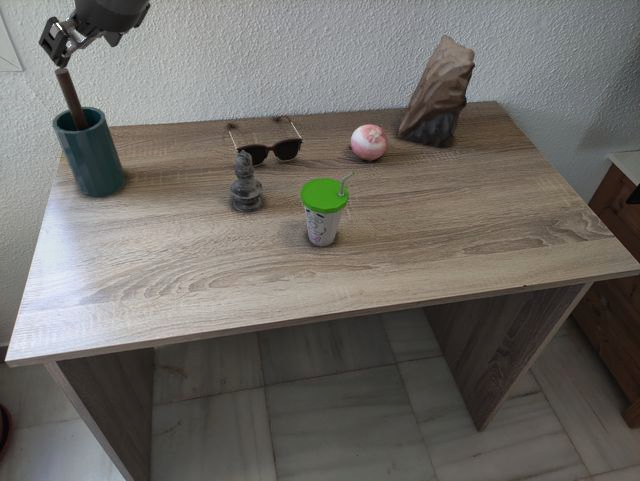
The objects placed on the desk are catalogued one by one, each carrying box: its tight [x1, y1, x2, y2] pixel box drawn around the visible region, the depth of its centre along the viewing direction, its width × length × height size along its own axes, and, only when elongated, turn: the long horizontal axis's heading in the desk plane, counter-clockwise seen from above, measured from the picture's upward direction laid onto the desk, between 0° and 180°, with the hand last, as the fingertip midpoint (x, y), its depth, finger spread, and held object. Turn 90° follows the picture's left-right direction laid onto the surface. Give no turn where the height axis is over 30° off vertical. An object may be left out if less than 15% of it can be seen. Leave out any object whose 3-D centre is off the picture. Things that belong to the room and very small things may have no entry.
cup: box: [299, 170, 355, 248], centre depth 77 cm, size 8×8×15 cm
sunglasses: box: [226, 114, 304, 167], centre depth 101 cm, size 14×16×5 cm
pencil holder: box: [51, 106, 126, 198], centre depth 85 cm, size 8×8×14 cm
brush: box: [54, 67, 89, 131], centre depth 82 cm, size 4×4×22 cm
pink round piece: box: [347, 124, 388, 163], centre depth 98 cm, size 8×8×7 cm
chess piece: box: [229, 150, 264, 213], centre depth 84 cm, size 6×6×12 cm
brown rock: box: [397, 34, 476, 148], centre depth 100 cm, size 13×13×20 cm
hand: (84, 51), depth 67 cm, fingers open, 8 cm apart
